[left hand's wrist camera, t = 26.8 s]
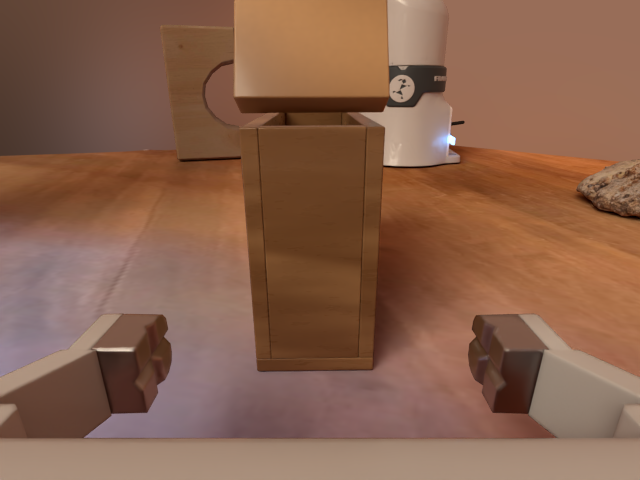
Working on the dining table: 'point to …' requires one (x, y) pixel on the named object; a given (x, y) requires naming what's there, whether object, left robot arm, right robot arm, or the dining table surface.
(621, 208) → the rock
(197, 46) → the decorative block
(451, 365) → the dining table surface
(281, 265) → the chest
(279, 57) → the lid
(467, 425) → the dining table surface
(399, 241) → the dining table surface
